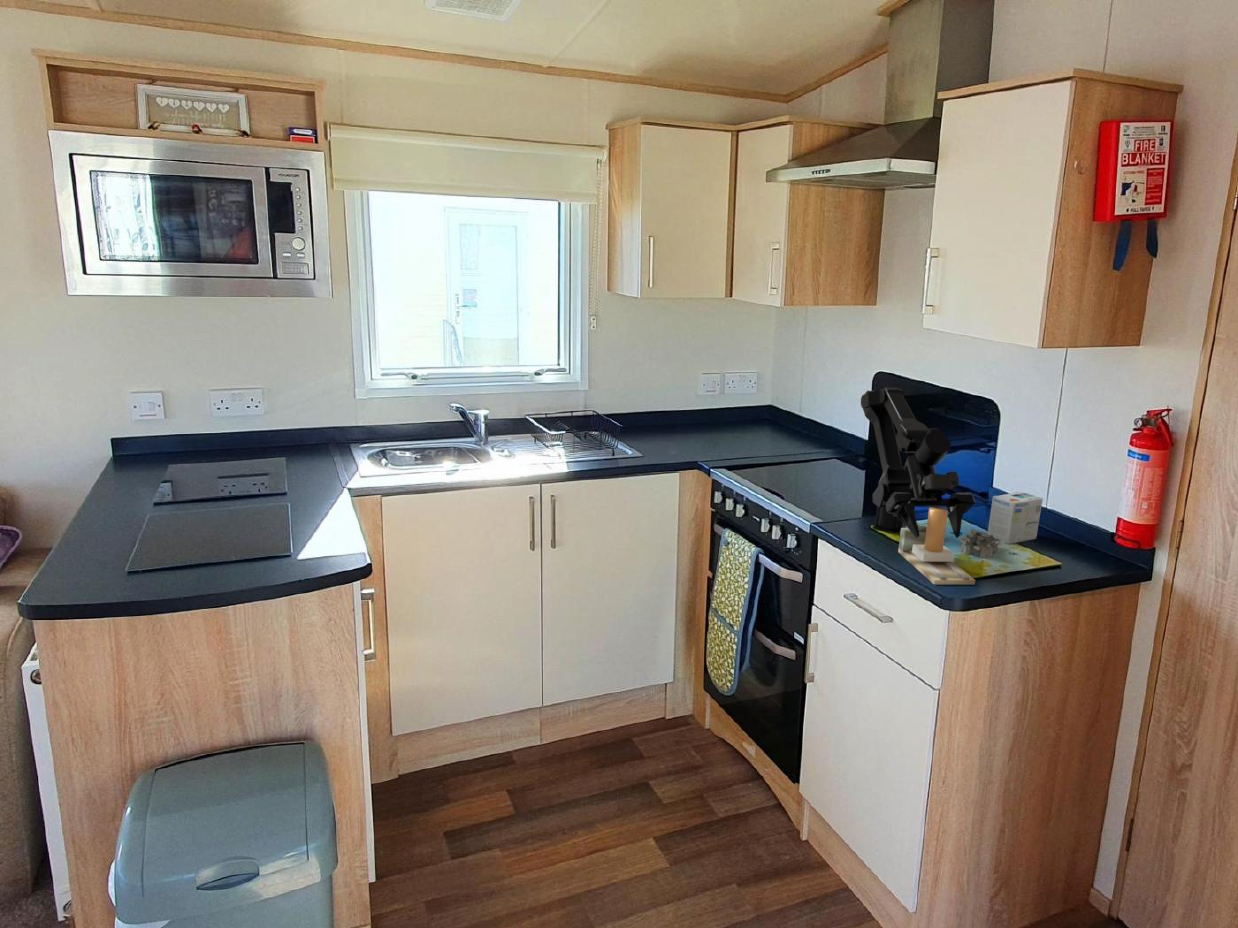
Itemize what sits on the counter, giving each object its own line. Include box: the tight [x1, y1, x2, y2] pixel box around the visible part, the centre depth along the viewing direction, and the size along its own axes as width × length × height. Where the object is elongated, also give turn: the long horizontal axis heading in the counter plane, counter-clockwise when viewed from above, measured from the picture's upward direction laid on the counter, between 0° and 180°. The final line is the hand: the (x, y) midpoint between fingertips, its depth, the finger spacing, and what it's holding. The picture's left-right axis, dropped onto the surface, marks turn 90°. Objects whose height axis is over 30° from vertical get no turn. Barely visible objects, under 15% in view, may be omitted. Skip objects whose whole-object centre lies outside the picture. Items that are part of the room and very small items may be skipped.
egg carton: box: [960, 528, 1001, 559], centre depth 204 cm, size 11×8×4 cm
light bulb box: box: [987, 491, 1043, 545], centre depth 213 cm, size 11×7×11 cm, turn 118°
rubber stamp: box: [912, 507, 955, 562], centre depth 192 cm, size 6×7×11 cm
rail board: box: [897, 525, 976, 585], centre depth 192 cm, size 20×9×6 cm, turn 4°
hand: (937, 537), depth 191 cm, fingers open, 9 cm apart
